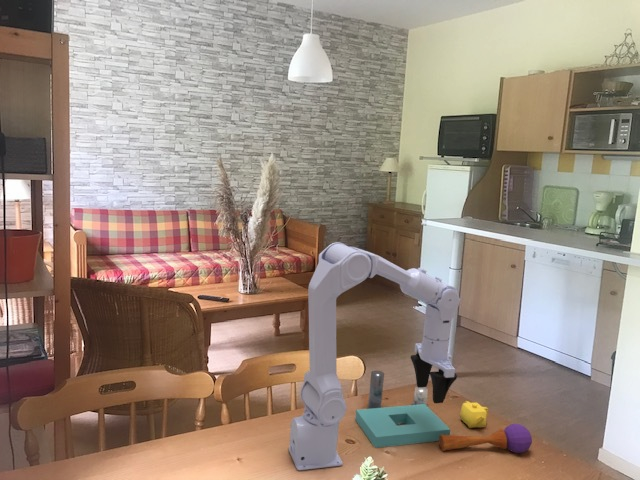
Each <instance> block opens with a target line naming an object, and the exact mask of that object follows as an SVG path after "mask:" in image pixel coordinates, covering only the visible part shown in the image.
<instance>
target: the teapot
mask: <svg viewBox="0 0 640 480" xmlns="http://www.w3.org/2000/svg"><path fill="white" fill-rule="evenodd" d="M460 409H461V410H460V415H459V416H460V419H461V420H462V422H463V423H465V425H467V428H468V429H473V428H480V429H482V428H484V427H486V425H487V417H488V416H489V413H488V412H489V408H488V407H487V406H482V405H481V404H479V403H478V402H470V401H468V400H465V401H464V402H462V404H461V407H460Z"/></svg>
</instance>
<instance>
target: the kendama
mask: <svg viewBox="0 0 640 480" xmlns="http://www.w3.org/2000/svg"><path fill="white" fill-rule="evenodd" d="M532 438H533V437H532V433H531V432H530V430H529V429H528V428H527V427H526V426H525V425H522V424H519V423H510V424H509V425H508V426H506V427H505V428H504V429H502V428H499V429H498V430H497V431H495V432H493V433H491V434H490V435H489V436H486V437H485V436H470V435H469V436H467V435H452V434H451V435H440V436H439V441H438V442H439V447H440V449H441V451H442V452H445V451H452V450H455V449H456V450H457V449H461V448H467V447H472V446H477V445H484V444H490V445H493V446H495V447H498V448H500V449H503V450H506V449H508V450H509V451H511V452H513V453H517V454H521V453H524V452H526V451H528V450H529V449H530V448H531V446H532V443H533V439H532Z"/></svg>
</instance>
